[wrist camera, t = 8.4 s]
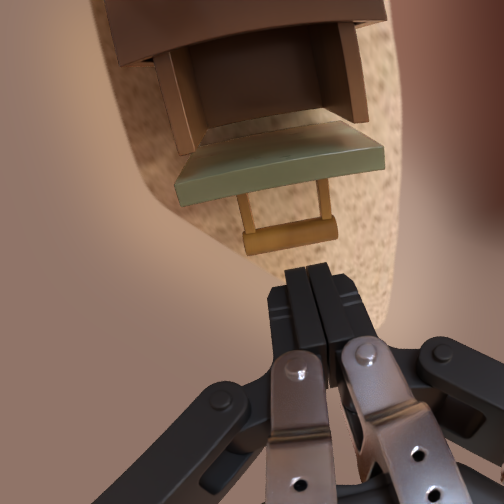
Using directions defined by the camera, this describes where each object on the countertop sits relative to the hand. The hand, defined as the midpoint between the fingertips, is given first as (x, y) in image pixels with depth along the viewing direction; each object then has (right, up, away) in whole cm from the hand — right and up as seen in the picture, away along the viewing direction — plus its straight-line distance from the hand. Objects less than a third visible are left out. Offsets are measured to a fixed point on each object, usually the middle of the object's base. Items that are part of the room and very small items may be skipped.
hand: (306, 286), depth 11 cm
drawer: (-1, +11, +7) cm, 14 cm away
